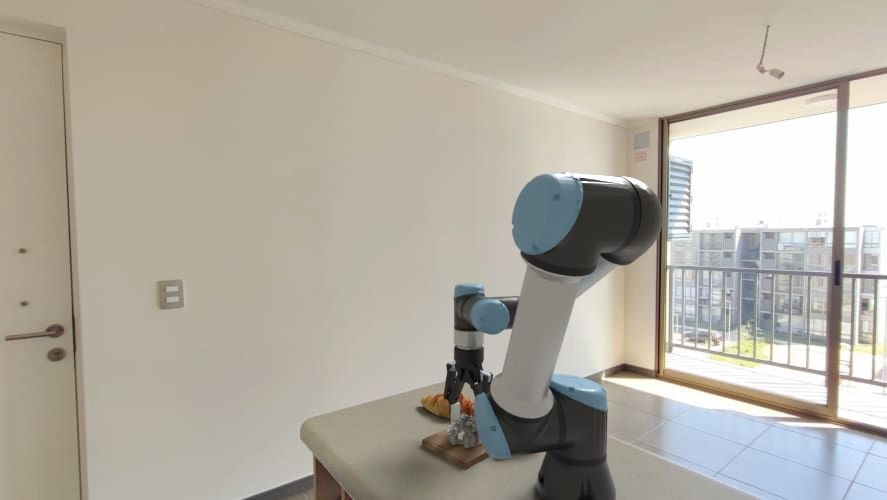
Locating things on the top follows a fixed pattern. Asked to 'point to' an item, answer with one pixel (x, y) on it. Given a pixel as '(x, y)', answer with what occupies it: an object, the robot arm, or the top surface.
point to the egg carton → (463, 431)
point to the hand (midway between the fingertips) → (468, 434)
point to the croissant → (447, 405)
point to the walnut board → (455, 449)
